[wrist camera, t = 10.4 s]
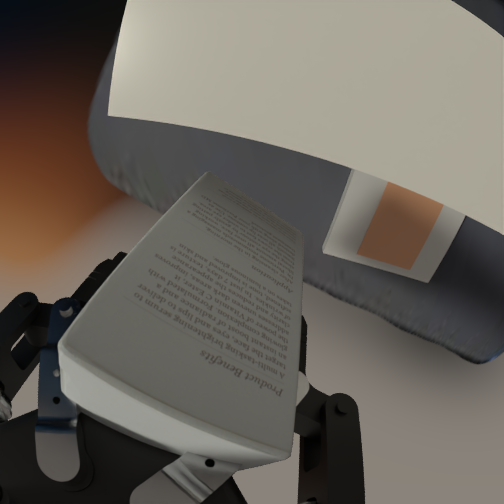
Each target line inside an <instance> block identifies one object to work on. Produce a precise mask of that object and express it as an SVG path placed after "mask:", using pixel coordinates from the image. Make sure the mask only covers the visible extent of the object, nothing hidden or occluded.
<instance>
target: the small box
mask: <svg viewBox="0 0 504 504" xmlns="http://www.w3.org/2000/svg"><path fill="white" fill-rule="evenodd" d="M302 291H303V234H302V233H301V232H300V231H299V230H297V229H296V228H294V227H293V226H291V225H290V224H288V223H287V222H286V221H284V220H283V219H281V218H280V217H278V216H277V215H275V214H274V213H272V212H271V211H269V210H268V209H266V208H265V207H263V206H262V205H260V204H259V203H257V202H256V201H254V200H253V199H251V198H250V197H248V196H247V195H245V194H244V193H242V192H241V191H239V190H238V189H236V188H234V187H233V186H231V185H230V184H228V183H226V182H225V181H223V180H222V179H220V178H218V177H217V176H215V175H214V174H212V173H211V172H205V174H204V175H203V176H202V177H200V178H199V179H198V180H197V181H196V182H195V183H194V184H193V185H192V186H191V187H190V188H189V189H188V190H187V191H186V192H185V193H184V194H183V195H182V196H181V197H180V199H179V200H178V201H177V202H176V203H175V204H174V205H173V206H172V207H171V208H170V209H169V210H168V211H167V212H166V213H165V214H164V215H163V216H162V217H161V218H160V219H159V220H158V221H157V223H156V224H155V225H154V226H153V227H152V228H151V229H150V230H149V231H148V232H147V233H146V234H145V236H144V237H143V238H142V239H141V240H140V241H139V242H138V243H137V244H136V245H135V247H134V248H133V249H132V250H131V251H130V252H129V254H127V256H126V257H125V258H124V259H123V260H122V261H121V263H120V264H119V265H118V266H117V267H116V269H115V270H114V271H113V272H112V273H111V274H110V276H109V277H108V278H107V279H106V280H105V282H104V283H103V284H102V285H101V286H100V288H99V289H98V290H97V291H96V293H95V294H94V295H93V296H92V298H91V299H90V300H89V301H88V303H87V304H86V305H85V306H84V308H83V309H82V310H81V312H80V313H79V314H78V316H77V317H76V318H75V320H74V321H73V322H72V324H71V325H70V326H69V328H68V329H67V331H66V332H65V333H64V335H63V336H62V338H61V339H60V341H59V342H58V352H59V365H60V374H61V391H62V392H63V393H64V394H65V395H66V396H67V397H68V398H70V399H71V400H73V401H74V402H76V404H77V405H78V407H79V409H80V410H81V412H83V413H84V414H86V415H88V416H90V417H91V418H93V419H95V420H97V421H99V422H100V423H102V424H104V425H106V426H108V427H110V428H112V429H114V430H117V431H119V432H121V433H123V434H125V435H127V436H130V437H132V438H134V439H137V440H139V441H141V442H144V443H147V444H149V445H152V446H155V447H157V448H160V449H163V450H166V451H169V452H172V453H175V454H178V455H181V456H182V455H183V454H185V453H186V452H191V453H194V454H198V455H202V456H205V457H209V458H214V459H218V460H223V461H227V462H233V463H239V464H243V465H242V466H241V467H240V468H239V469H238V470H237V471H239V470H244V469H249V468H253V467H258V466H262V465H266V464H270V463H274V462H278V461H282V460H285V459H287V458H289V457H290V456H291V451H292V445H293V435H294V424H295V413H296V400H297V387H298V373H299V358H300V339H301V316H302Z"/></svg>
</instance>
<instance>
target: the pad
mask: <svg viewBox="0 0 504 504" xmlns="http://www.w3.org/2000/svg"><path fill="white" fill-rule="evenodd" d="M465 216H466V215H465V214H463V213H461V212H458V211H456V210H454V209H452V208H450V207H448V206H446V205H443V204H441V203H439V202H437V201H435V200H432V199H430V198H428V197H425V196H423V195H421V194H418V193H416V192H414V191H411V190H409V189H406V188H404V187H401V186H399V185H396V184H394V183H391V182H388V181H386V180H383V179H381V178H378V177H375V176H372V175H370V174H367V173H364V172H361V171H358V170H355V169H353V168H352V170H351V173H350V176H349V178H348V181H347V184H346V187H345V189H344V192H343V195H342V198H341V200H340V203H339V206H338V208H337V211H336V214H335V216H334V219H333V221H332V224H331V226H330V229H329V232H328V234H327V237H326V239H325V242H324V244H323V247H322V248H323V253H325V254H329V255H333V256H336V257H340V258H343V259H347V260H350V261H354V262H357V263H361V264H364V265H368V266H371V267H375V268H378V269H382V270H385V271H389V272H392V273H396V274H399V275H403V276H406V277H409V278H413V279H416V280H420V281H423V282H426V283H428V282H429V281H430V279H431V277H432V276H433V274H434V273H435V271H436V269H437V268H438V266H439V264H440V262H441V261H442V259H443V257H444V256H445V254H446V252H447V250H448V248H449V247H450V245H451V243H452V241H453V239H454V237H455V235H456V234H457V232H458V230H459V228H460V226H461V224H462V222H463V220H464V218H465Z"/></svg>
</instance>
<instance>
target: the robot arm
mask: <svg viewBox="0 0 504 504" xmlns="http://www.w3.org/2000/svg"><path fill="white" fill-rule="evenodd" d="M126 256H127V253H124V252H119V253H118V254H117V255H116V256H115V257H114V259H113V260H110V259H107V260H105V261H103V262H102V263H100V264H99V265H98V266H97V267H96V268H95V269H94V271H93V272H92V273H91V274H90V275H89V277H88V278H87V279H86V280H85V281H84V282H83V283H82V284H81V285H80V287H79V288H78V289H77V290H76V291H75V293H74V294H73V295H72V296H71V297H65V298H61V299H59V300H57V301H56V302H55V303H54V304H47V303H40V302H38V299H37V296H36V295H35V294H33V293H31V292H23V293H21V294H19V295H18V296H16V297H15V298H14V299H13V300H12V301H11V302H10V303H9V304H8V305H7V306H6V307H5V308H4V309H3V310H2V312H1V313H0V504H247V502H246V500H245V498H244V497H243V495H242V493H241V491H240V490H239V488H238V486H237V484H236V483H235V481H234V479H233V477H232V475H233V474H234V473H235V472H236V471H237V470H238V469H239V468H240V467H241V466H242V465H243V464H239V463H233V462H227V461H223V460H218V459H214V458H209V457H205V456H202V455H198V454H194V453H191V452H186V453H185V454H183V455H182V456H181V455H178V454H175V453H172V452H169V451H166V450H163V449H160V448H157V447H155V446H152V445H149V444H147V443H144V442H141V441H139V440H137V439H134V438H132V437H130V436H127V435H125V434H123V433H121V432H119V431H117V430H114V429H112V428H110V427H108V426H106V425H104V424H102V423H100V422H99V421H97V420H95V419H93V418H91V417H90V416H88V415H86V414H84V413H83V412H81V410H80V409H79V407H78V405H77V404H76V402H74V401H73V400H71V399H70V398H68V397H67V396H66V395H65V394H64V393H63V392H62V391H61V374H60V365H59V352H58V342H59V341H60V339H61V338H62V336H63V335H64V333H65V332H66V331H67V329H68V328H69V326H70V325H71V324H72V322H73V321H74V320H75V318H76V317H77V316H78V314H79V313H80V312H81V310H82V309H83V308H84V306H85V305H86V304H87V303H88V301H89V300H90V299H91V298H92V296H93V295H94V294H95V293H96V291H97V290H98V289H99V288H100V286H101V285H102V284H103V283H104V282H105V280H106V279H107V278H108V277H109V276H110V274H111V273H112V272H113V271H114V270H115V269H116V267H117V266H118V265H119V264H120V263H121V261H122V260H123V259H124V258H125V257H126ZM23 333H24V334H25V335H24V336H23V338H22V339H21V340H20V341H19V342H18V344H17V345H16V346H15V347H14V348H13V350H12V351H11V348H12V346H13V345H14V343H15V342H16V341H17V340H18V339H19V338H20V336H21V335H22V334H23ZM306 336H307V324H306V321H305V319H304V317H303V316H301V339H300V358H299V373H298V387H297V400H296V413H295V424H294V432H295V433H297V434H299V435H300V454H299V483H298V504H365V488H364V472H363V471H364V470H363V456H362V443H361V432H360V422H359V413H358V406H357V404H356V402H355V401H354V399H352V398H351V397H350V396H348V395H347V394H343V393H336V394H333V395H331V396H328V395H326V394H324V393H322V392H320V391H318V390H317V389H315V388H314V387H313V386H312V385H311V384H310V383H309V381H308V379H307V378H306V374H305V367H306V346H307V345H306V343H307V337H306ZM39 362H40V364H39V381H38V409H36V410H34V411H31V412H29V413H26V414H24V415H21V416H19V417H17V418H14V419H11V420H9V421H8V419H10V418H11V417H12V412H11V408H12V405H11V401H12V399H13V398H14V396H15V395H16V393H17V392H18V391H19V389H20V388H21V386H22V385H23V384H24V382H25V381H26V379H27V378H28V377H29V375H30V374H31V373H32V371H33V370H34V368H35V367H36V366H37V365H38V363H39Z"/></svg>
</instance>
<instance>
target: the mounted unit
mask: <svg viewBox="0 0 504 504" xmlns="http://www.w3.org/2000/svg"><path fill="white" fill-rule="evenodd" d="M108 116H116V117H126V118H135V119H143V120H150V121H158V122H164V123H171V124H177V125H183V126H189V127H195V128H200V129H205V130H211V131H216V132H221V133H225V134H230V135H235V136H239V137H244V138H248V139H252V140H256V141H260V142H264V143H268V144H272V145H276V146H280V147H284V148H287V149H291V150H295V151H298V152H302V153H305V154H309V155H312V156H315V157H319V158H322V159H325V160H328V161H331V162H334V163H338V164H341V165H344V166H347V167H350V168H353V169H355V170H358V171H361V172H364V173H367V174H370V175H372V176H375V177H378V178H381V179H383V180H386V181H388V182H391V183H394V184H396V185H399V186H401V187H404V188H406V189H409V190H411V191H414V192H416V193H418V194H421V195H423V196H425V197H428V198H430V199H432V200H435V201H437V202H439V203H441V204H443V205H446V206H448V207H450V208H452V209H454V210H456V211H458V212H461V213H463V214H465V215H467V216H469V217H471V218H473V219H475V220H477V221H479V222H481V223H483V224H484V225H486V226H488V227H490V228H492V229H494V230H496V231H498V232H499V233H501V234H503V235H504V37H502V36H501V35H500V34H499V33H497V32H496V31H495V30H494V29H492V28H491V27H490V26H488V25H487V24H486V23H484V22H483V21H481V20H480V19H479V18H477V17H476V16H474V15H473V14H471V13H470V12H468V11H467V10H465V9H464V8H462V7H461V6H459V5H458V4H456V3H454V2H453V1H451V0H128V1H127V5H126V9H125V13H124V17H123V21H122V25H121V30H120V35H119V40H118V45H117V50H116V56H115V62H114V68H113V75H112V82H111V90H110V99H109V108H108Z"/></svg>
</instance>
